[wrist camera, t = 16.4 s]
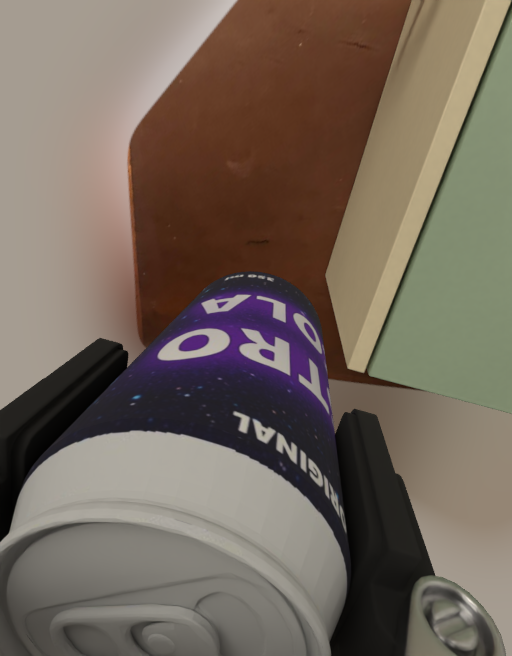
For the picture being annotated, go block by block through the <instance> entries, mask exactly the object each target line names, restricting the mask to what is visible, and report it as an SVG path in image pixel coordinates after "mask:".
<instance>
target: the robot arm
mask: <svg viewBox="0 0 512 656" xmlns="http://www.w3.org/2000/svg"><path fill="white" fill-rule="evenodd" d="M127 363H128V352H127V351H125V350H123V346H122V344H120V343H117V342H113V341H109V340H106V339H102V338H99V339H97V340H96V341H95V342H94V343H92V344H91V345H89V346H88V347H86V348H85V349H84V350H82V351H81V352H80V353H78V354H77V355H76V356H75V357H73V358H72V359H70V360H69V361H67V362H66V363H65V364H64V365H62V366H61V367H59V368H58V369H57V370H55V371H54V372H53V373H51V374H50V375H49V376H47V377H46V378H44V379H42V380H41V381H40V382H38V383H37V384H36V385H34V386H33V387H31V388H30V389H29V390H27V391H26V392H24V393H23V394H22V395H20V396H19V397H18V398H16V399H15V400H14V401H12V402H11V403H9V404H8V405H7V406H6V407H4V408H3V409H1V410H0V542H1V541H2V540H3V539H4V538H5V537H6V536H7V535H8V534H9V531H10V527H11V523H12V519H13V515H14V511H15V507H16V503H17V499H18V496H19V493H20V490H21V487H22V485H23V482H24V480H25V478H26V476H27V474H28V472H29V471H30V469H31V468H32V466H33V465H34V463H35V462H36V461H37V460H38V459H39V457H40V456H41V455H42V454H43V453H44V452H45V451H46V450H47V449H48V448H49V447H50V446H51V445H52V444H53V443H54V442H55V441H56V440H57V439H58V438H59V437H60V436H61V435H62V434H63V433H64V432H65V431H66V430H67V429H68V428H69V427H70V426H71V425H72V424H73V423H74V422H75V421H76V420H77V419H78V417H79V416H80V415H81V414H82V413H83V412H84V411H85V410H86V409H87V408H88V407H89V406H90V405H91V404H92V403H93V402H94V401H95V400H96V399H97V398H98V397H99V396H100V395H101V394H102V393H103V392H104V391H105V390H106V389H107V388H108V387H109V386H110V385H111V384H112V383H113V382H114V381H115V380H116V379H117V378H118V377H119V376H120V375H121V374H122V373H123V372H124V371H125V370H126V369H127ZM335 439H336V447H337V455H338V463H339V471H340V479H341V487H342V495H343V503H344V511H345V519H346V527H347V535H348V543H349V551H350V559H351V583H350V588H349V593H348V596H347V599H346V603H345V606H344V608H343V611H342V613H341V616H340V618H339V620H338V623H337V625H336V628H335V630H334V632H333V635H332V637H331V640H330V642H329V644H330V649H331V656H506V652H505V648H504V644H503V641H502V637H501V634H500V632H499V630H498V628H497V627H496V625H495V623H494V621H493V619H492V618H491V616H490V615H489V614H488V613H487V611H486V610H485V609H484V607H483V606H482V605H481V604H480V603H479V602H478V601H477V600H476V599H475V598H474V597H473V596H472V595H471V594H470V593H469V592H467V591H466V590H465V589H463V588H461V587H460V586H459V585H457V584H456V583H454V582H452V581H449V580H447V579H445V578H443V577H437V576H435V573H434V571H433V567H432V564H431V561H430V558H429V556H428V552H427V549H426V546H425V544H424V541H423V538H422V535H421V532H420V529H419V526H418V523H417V520H416V517H415V514H414V511H413V508H412V505H411V502H410V499H409V496H408V493H407V490H406V487H405V484H404V482H403V479H402V478H401V476H400V475H398V474H396V473H395V471H394V468H393V465H392V462H391V458H390V455H389V453H388V449H387V446H386V443H385V440H384V436H383V433H382V430H381V427H380V424H379V421H378V418H377V416H376V415H375V414H371V413H368V412H364V411H360V410H357V409H354V410H353V411H352V412H351V413H347V412H345V413H344V414H343V416H342V419H341V421H340V424H339V426H338V429H337V432H336V434H335Z"/></svg>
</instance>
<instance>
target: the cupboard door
mask: <svg viewBox="0 0 512 656" xmlns="http://www.w3.org/2000/svg"><path fill="white" fill-rule="evenodd" d="M511 1H512V0H412V1H411V4H410V7H409V11H408V14H407V17H406V20H405V23H404V27H403V30H402V33H401V36H400V39H399V42H398V46H397V49H396V52H395V55H394V58H393V62H392V65H391V68H390V71H389V74H388V77H387V81H386V84H385V87H384V90H383V93H382V96H381V100H380V103H379V106H378V109H377V112H376V116H375V119H374V122H373V125H372V128H371V131H370V135H369V138H368V141H367V144H366V147H365V150H364V154H363V157H362V160H361V163H360V166H359V170H358V173H357V176H356V179H355V182H354V185H353V189H352V192H351V195H350V198H349V201H348V204H347V208H346V211H345V214H344V217H343V220H342V224H341V227H340V230H339V233H338V236H337V239H336V243H335V246H334V249H333V252H332V255H331V259H330V262H329V265H328V268H327V271H326V274H325V276H326V280H327V284H328V288H329V293H330V297H331V301H332V305H333V309H334V314H335V318H336V322H337V326H338V330H339V335H340V339H341V343H342V347H343V351H344V355H345V360H346V364H347V368H348V369H351V370H354V371H358V372H362V373H364V371H365V369H366V366H367V364H368V361H369V359H370V356H371V354H372V351H373V349H374V346H375V344H376V341H377V339H378V336H379V334H380V331H381V329H382V326H383V324H384V321H385V319H386V316H387V313H388V311H389V308H390V306H391V303H392V301H393V298H394V296H395V293H396V291H397V288H398V286H399V283H400V281H401V278H402V276H403V273H404V271H405V268H406V266H407V263H408V261H409V258H410V255H411V253H412V250H413V248H414V245H415V243H416V240H417V238H418V235H419V233H420V230H421V228H422V225H423V223H424V220H425V218H426V215H427V213H428V210H429V208H430V205H431V203H432V200H433V198H434V195H435V192H436V190H437V187H438V185H439V182H440V180H441V177H442V175H443V172H444V170H445V167H446V165H447V162H448V160H449V157H450V155H451V152H452V150H453V147H454V145H455V142H456V140H457V137H458V134H459V132H460V129H461V127H462V124H463V122H464V119H465V117H466V114H467V112H468V109H469V107H470V104H471V102H472V99H473V97H474V94H475V92H476V89H477V87H478V84H479V82H480V79H481V76H482V74H483V71H484V69H485V66H486V64H487V61H488V59H489V56H490V54H491V51H492V49H493V46H494V44H495V41H496V39H497V36H498V34H499V31H500V29H501V26H502V24H503V21H504V18H505V16H506V13H507V11H508V8H509V6H510V3H511Z"/></svg>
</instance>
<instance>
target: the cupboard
mask: <svg viewBox="0 0 512 656" xmlns="http://www.w3.org/2000/svg"><path fill="white" fill-rule="evenodd" d="M366 368H367V371H368V374H369V376H372V377H376V378H379V379H383V380H387V381H391V382H394V383H398V384H402V385H406V386H409V387H413V388H417V389H421V390H424V391H428V392H432V393H436V394H440V395H443V396H447V397H451V398H455V399H459V400H462V401H466V402H470V403H474V404H477V405H481V406H485V407H488V408H492V409H496V410H500V411H503V412H507V413H511V414H512V1H511V3H510V6H509V8H508V11H507V13H506V16H505V18H504V21H503V24H502V26H501V29H500V31H499V34H498V36H497V39H496V41H495V44H494V46H493V49H492V51H491V54H490V56H489V59H488V61H487V64H486V66H485V69H484V71H483V74H482V76H481V79H480V82H479V84H478V87H477V89H476V92H475V94H474V97H473V99H472V102H471V104H470V107H469V109H468V112H467V114H466V117H465V119H464V122H463V124H462V127H461V129H460V132H459V134H458V137H457V140H456V142H455V145H454V147H453V150H452V152H451V155H450V157H449V160H448V162H447V165H446V167H445V170H444V172H443V175H442V177H441V180H440V182H439V185H438V187H437V190H436V192H435V195H434V198H433V200H432V203H431V205H430V208H429V210H428V213H427V215H426V218H425V220H424V223H423V225H422V228H421V230H420V233H419V235H418V238H417V240H416V243H415V245H414V248H413V250H412V253H411V255H410V258H409V261H408V263H407V266H406V268H405V271H404V273H403V276H402V278H401V281H400V283H399V286H398V288H397V291H396V293H395V296H394V298H393V301H392V303H391V306H390V308H389V311H388V313H387V316H386V319H385V321H384V324H383V326H382V329H381V331H380V334H379V336H378V339H377V341H376V344H375V346H374V349H373V351H372V354H371V356H370V359H369V361H368V364H367V366H366Z"/></svg>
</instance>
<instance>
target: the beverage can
mask: <svg viewBox="0 0 512 656" xmlns="http://www.w3.org/2000/svg"><path fill="white" fill-rule="evenodd" d="M350 583H351V559H350V551H349V543H348V535H347V527H346V519H345V511H344V503H343V495H342V487H341V479H340V471H339V463H338V455H337V447H336V439H335V431H334V423H333V415H332V408H331V401H330V392H329V384H328V376H327V368H326V360H325V352H324V344H323V336H322V329H321V324H320V320H319V317H318V315H317V313H316V311H315V309H314V307H313V305H312V304H311V302H310V301H309V300H308V298H307V297H306V296H305V295H304V294H303V293H302V292H301V291H300V290H299V289H298V288H296V287H295V286H294V285H292V284H291V283H289V282H287V281H286V280H284V279H282V278H279V277H277V276H274V275H271V274H267V273H261V272H239V273H234V274H230V275H227V276H224V277H222V278H220V279H218V280H216V281H214V282H213V283H211V284H210V285H209V286H207V287H206V288H205V289H204V290H203V291H202V292H201V293H200V294H199V295H198V296H197V297H196V298H195V299H194V300H193V301H192V302H191V303H190V304H189V305H188V306H187V307H186V308H185V309H184V310H183V311H182V312H181V313H180V314H179V315H178V316H177V317H176V319H175V320H174V321H173V322H172V323H171V324H170V325H169V326H168V327H167V328H166V329H165V330H164V331H163V332H162V333H161V334H160V335H159V336H158V337H157V338H156V339H155V340H154V341H153V342H152V343H151V344H150V345H149V346H148V347H147V348H146V349H145V350H144V351H143V352H142V353H141V354H140V355H139V356H138V357H137V358H136V359H135V360H134V361H133V362H132V364H130V366H128V367H127V369H126V370H125V371H124V372H123V373H122V374H121V375H120V376H119V377H118V378H117V379H116V380H115V381H114V382H113V383H112V384H111V385H110V386H109V387H108V388H107V389H106V390H105V391H104V392H103V393H102V394H101V395H100V396H99V397H98V398H97V399H96V400H95V401H94V402H93V403H92V404H91V405H90V406H89V407H88V408H87V409H86V410H85V411H84V412H83V413H82V414H81V415H80V416H79V417H78V419H77V420H76V421H75V422H74V423H73V424H72V425H71V426H70V427H69V428H68V429H67V430H66V431H65V432H64V433H63V434H62V435H61V436H60V437H59V438H58V439H57V440H56V441H55V442H54V443H53V444H52V445H51V446H50V447H49V448H48V449H47V450H46V451H45V452H44V453H43V454H42V455H41V456H40V457H39V459H38V460H37V461H36V462H35V463H34V465H33V466H32V468H31V469H30V471H29V472H28V474H27V476H26V478H25V480H24V482H23V485H22V487H21V490H20V493H19V496H18V499H17V503H16V507H15V511H14V515H13V519H12V523H11V527H10V531H9V534H8V535H7V536H6V537H5V538H4V539H3V540H2V541H1V542H0V656H331V649H330V644H329V642H330V640H331V637H332V635H333V632H334V630H335V628H336V625H337V623H338V620H339V618H340V616H341V613H342V611H343V608H344V606H345V603H346V599H347V596H348V593H349V588H350Z"/></svg>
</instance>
